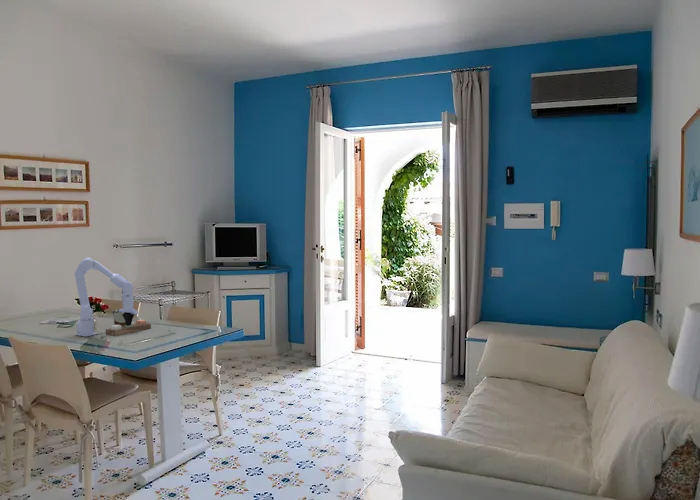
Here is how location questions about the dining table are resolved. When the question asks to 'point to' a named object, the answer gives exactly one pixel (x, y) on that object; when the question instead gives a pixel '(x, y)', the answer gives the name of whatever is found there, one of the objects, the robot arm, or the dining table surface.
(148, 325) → the button panel
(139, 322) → the terracotta button
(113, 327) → the cream button
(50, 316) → the dining table surface
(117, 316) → the food container
